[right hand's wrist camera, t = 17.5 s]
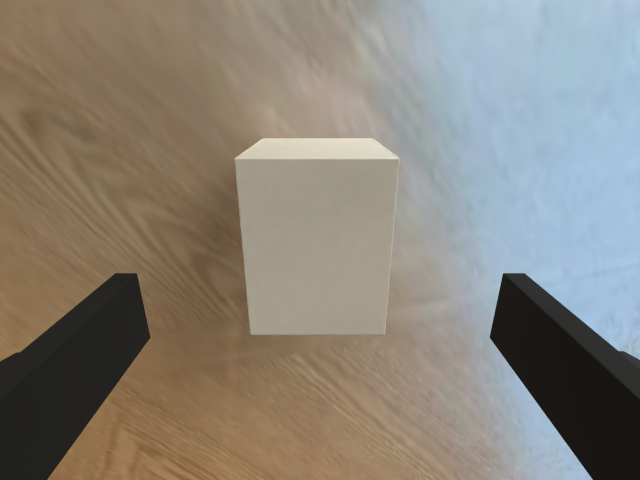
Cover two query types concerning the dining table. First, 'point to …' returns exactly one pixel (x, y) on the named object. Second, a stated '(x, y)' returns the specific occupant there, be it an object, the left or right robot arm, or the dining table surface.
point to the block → (317, 234)
